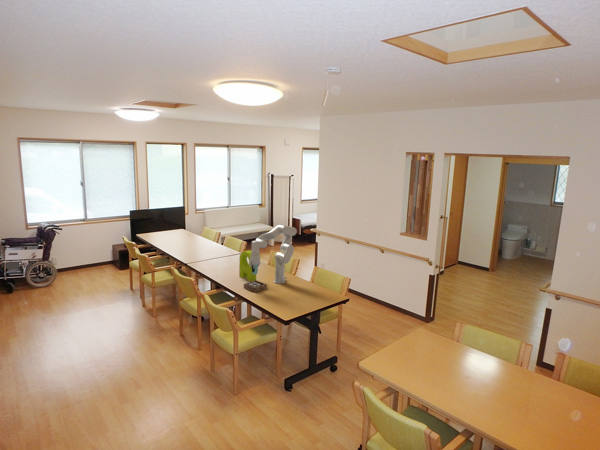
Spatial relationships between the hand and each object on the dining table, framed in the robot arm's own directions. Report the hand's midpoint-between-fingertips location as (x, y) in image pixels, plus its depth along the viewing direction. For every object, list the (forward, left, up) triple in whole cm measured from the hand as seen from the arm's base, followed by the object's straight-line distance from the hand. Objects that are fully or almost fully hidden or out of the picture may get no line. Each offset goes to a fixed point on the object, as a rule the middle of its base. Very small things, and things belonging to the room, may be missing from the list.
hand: (254, 271), depth 369 cm
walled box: (0, +1, -17) cm, 17 cm away
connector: (0, 0, -3) cm, 3 cm away
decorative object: (-14, -27, -18) cm, 35 cm away
